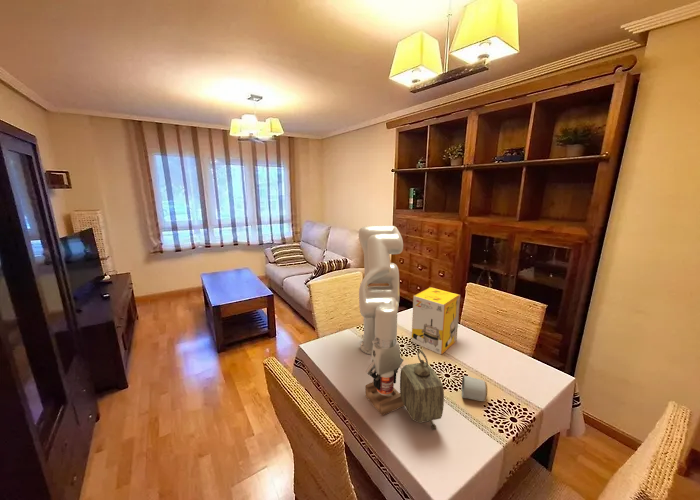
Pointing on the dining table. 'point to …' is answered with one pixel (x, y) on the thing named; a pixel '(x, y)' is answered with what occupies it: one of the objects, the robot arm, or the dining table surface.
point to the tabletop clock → (422, 391)
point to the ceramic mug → (474, 388)
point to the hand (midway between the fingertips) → (384, 383)
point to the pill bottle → (386, 383)
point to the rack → (383, 399)
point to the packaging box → (435, 319)
